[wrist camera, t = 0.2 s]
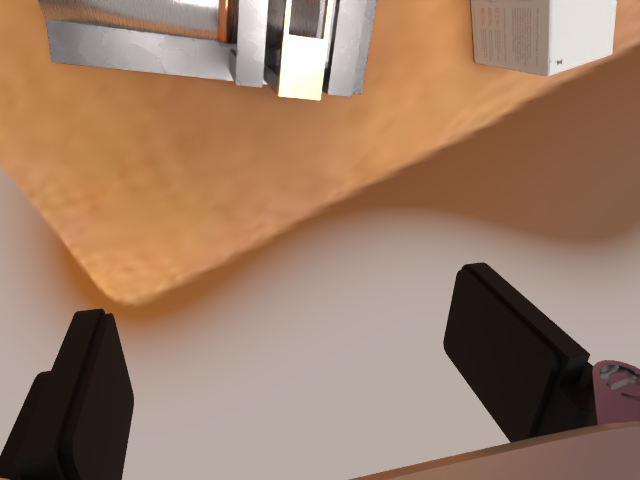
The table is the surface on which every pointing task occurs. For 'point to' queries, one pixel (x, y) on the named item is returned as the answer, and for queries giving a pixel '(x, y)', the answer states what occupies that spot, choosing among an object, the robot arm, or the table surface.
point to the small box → (542, 33)
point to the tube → (184, 17)
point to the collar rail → (237, 50)
